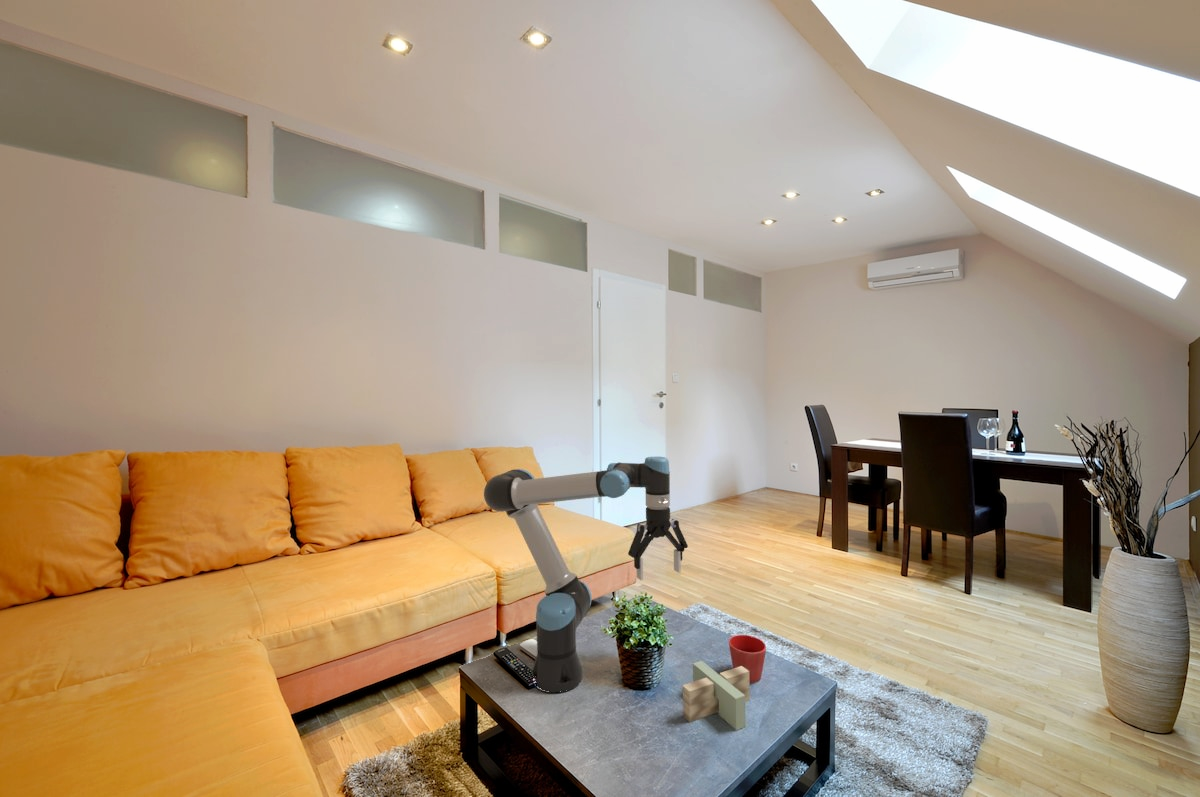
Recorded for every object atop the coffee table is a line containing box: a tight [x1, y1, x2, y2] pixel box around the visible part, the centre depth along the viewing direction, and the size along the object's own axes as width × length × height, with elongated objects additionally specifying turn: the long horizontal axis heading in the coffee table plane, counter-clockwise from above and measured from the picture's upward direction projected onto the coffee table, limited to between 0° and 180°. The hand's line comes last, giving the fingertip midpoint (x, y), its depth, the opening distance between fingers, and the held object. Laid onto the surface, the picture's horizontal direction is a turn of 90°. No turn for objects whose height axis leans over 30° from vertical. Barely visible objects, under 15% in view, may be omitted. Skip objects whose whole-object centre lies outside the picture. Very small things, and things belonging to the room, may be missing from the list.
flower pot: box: [728, 634, 767, 683], centre depth 145 cm, size 11×11×10 cm
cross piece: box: [692, 660, 747, 731], centre depth 130 cm, size 18×3×8 cm, turn 25°
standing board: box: [682, 666, 751, 723], centre depth 130 cm, size 20×3×8 cm, turn 115°
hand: (658, 574), depth 150 cm, fingers open, 13 cm apart
